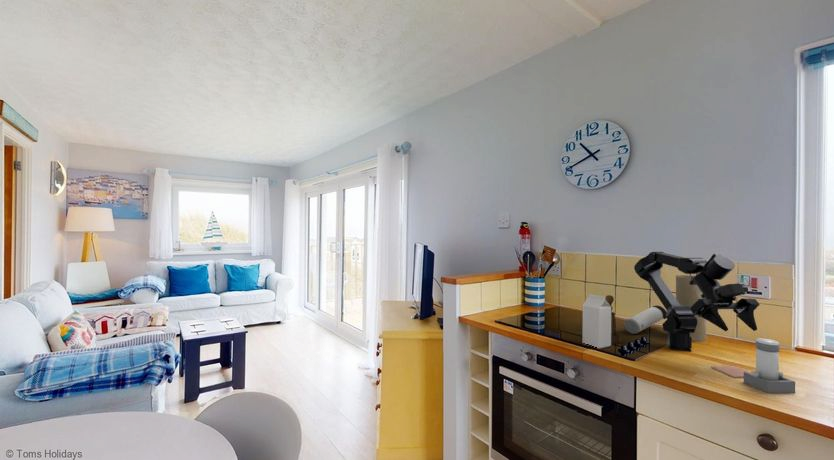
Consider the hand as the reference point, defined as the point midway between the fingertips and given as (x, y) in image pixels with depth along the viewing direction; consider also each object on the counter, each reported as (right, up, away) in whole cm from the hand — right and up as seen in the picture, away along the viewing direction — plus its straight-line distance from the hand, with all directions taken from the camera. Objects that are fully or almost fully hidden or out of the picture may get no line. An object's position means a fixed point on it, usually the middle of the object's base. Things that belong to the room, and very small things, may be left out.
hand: (741, 330), depth 111 cm
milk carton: (-30, -14, +29) cm, 44 cm away
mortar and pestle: (-22, -14, +34) cm, 43 cm away
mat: (0, -14, +2) cm, 14 cm away
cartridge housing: (0, -14, -8) cm, 16 cm away
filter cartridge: (0, -14, -8) cm, 16 cm away
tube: (+13, -14, +38) cm, 42 cm away
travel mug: (-9, -11, +43) cm, 45 cm away
